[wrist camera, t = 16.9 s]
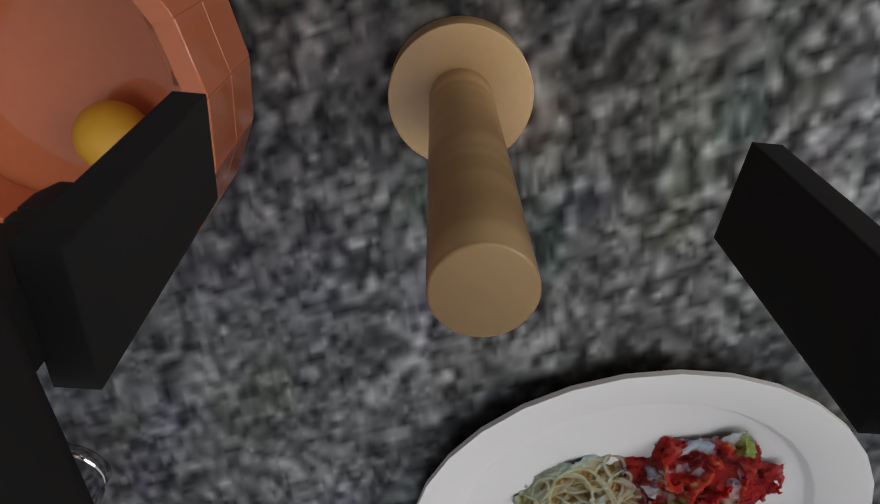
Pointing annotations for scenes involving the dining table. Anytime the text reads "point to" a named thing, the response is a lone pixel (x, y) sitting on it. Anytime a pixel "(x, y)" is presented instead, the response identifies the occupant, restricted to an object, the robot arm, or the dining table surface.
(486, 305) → the masher
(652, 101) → the dining table surface
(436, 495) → the plated food
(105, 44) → the bowl
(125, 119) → the bead
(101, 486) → the cup with straw
